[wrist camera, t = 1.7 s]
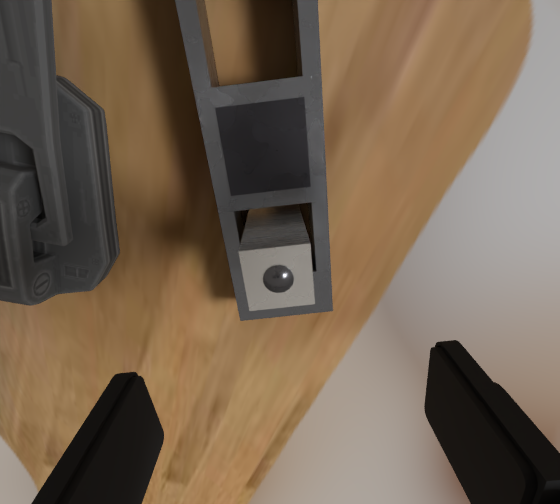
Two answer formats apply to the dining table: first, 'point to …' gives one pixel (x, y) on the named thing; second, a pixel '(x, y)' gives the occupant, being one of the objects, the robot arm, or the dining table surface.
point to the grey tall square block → (276, 258)
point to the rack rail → (264, 145)
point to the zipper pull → (49, 168)
